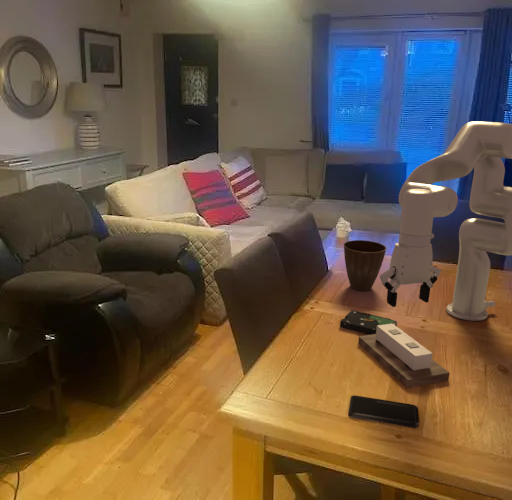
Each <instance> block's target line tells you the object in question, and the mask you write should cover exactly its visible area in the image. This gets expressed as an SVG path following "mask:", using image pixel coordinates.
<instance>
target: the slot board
mask: <svg viewBox="0 0 512 500" xmlns="http://www.w3.org/2000/svg"><path fill="white" fill-rule="evenodd" d="M358 345H360V347H362V348H363V349H364V350H365V351H366V352H367V353H368V354H370V356H372V357H373V358H374V359H375V361H377V362H378V363H379V364H380V365H381V366H383V367H384V368H385V369H386V370H387V371H388V372H389V373H390V374H392V376H393V377H395V378H396V379H397V380H398V381H399V382H400V383H401V384H402V385H404V386H405V387H406V389H407V388H409V389H410V388H414V387H421V386H425V385H431V384H437V383H443V382H448V381H449V379H450V372H449V370H447V369H446V368H444V367H443V366H442V365H440V364H439V363H438V362H437V361H435V360H434V359H432V362H431V368H426V369H420V370H414V371H411V370H410V369H408V368H409V366H408V365H407V364H405V363H404V362H403V361H402V360H401V359H399V358H398V357H397V356H396V355H395V354H393V353H392V352H391V351H390V350H389V349H387V348H386V347H385V346H384V345H380V344H379V341H378V340H377V339H376V334H373V335H367V334H364V335H359V336H358Z"/></svg>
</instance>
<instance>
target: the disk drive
mask: <svg viewBox="0 0 512 500" xmlns="http://www.w3.org/2000/svg"><path fill="white" fill-rule="evenodd" d="M392 323H393V324H394V325H395V326H397V325H398V321H397V320H395V319H391V318H388V317H384V316H378V315H375V314H371V313H366V312H362V311H358V310H354V309H351V310H350V311H349V312H348V313H347V314H346V315H345V316H344V318H341V320H340V321H339V328H340V329H344V330H349V331H352V332H356V333H359V334H364V335H373V334H376V330H377V326H378V325H385V324H392ZM397 327H398V326H397Z"/></svg>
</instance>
